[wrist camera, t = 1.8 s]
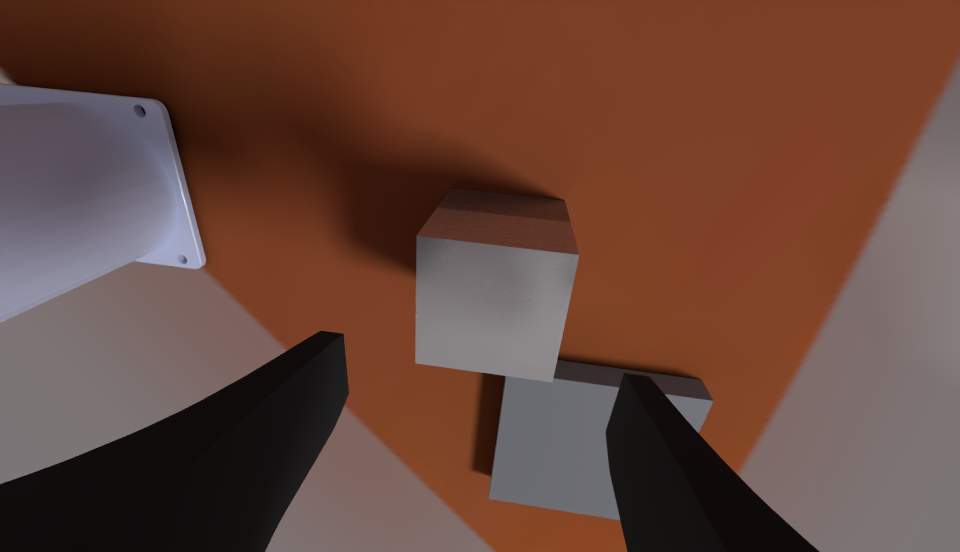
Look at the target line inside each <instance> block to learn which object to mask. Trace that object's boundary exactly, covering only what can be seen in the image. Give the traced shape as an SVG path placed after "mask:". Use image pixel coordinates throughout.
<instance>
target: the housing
mask: <svg viewBox="0 0 960 552" xmlns="http://www.w3.org/2000/svg"><path fill="white" fill-rule="evenodd" d="M578 259H579V252H578V248H577V245H576V241H575V237H574V233H573V229H572V226H571V222H570V218H569V214H568V210H567V207H566V203H565V200H556V199H547V198H538V197H529V196H520V195H511V194H502V193H492V192H483V191H474V190H465V189H456V188H451V189H450V190H449V192H448V193H447V194H446V196H445V197H444V199H443V200H442V201H441V203H440V204H439V205H438V207H437V208H436V210H435V211H434V212H433V214H432V215H431V216H430V218H429V219H428V221H427V222H426V223H425V225H424V226H423V227H422V229H421V230H420V232H419V233H418V234H417V236H416V363H418V364H425V365H432V366H439V367H446V368H453V369H460V370H468V371H475V372H482V373H489V374H496V375H503V376H510V377H517V378H524V379H531V380H539V381H546V382H553V377H554V373H555V368H556V363H557V358H558V354H559V349H560V344H561V339H562V335H563V330H564V325H565V320H566V316H567V311H568V306H569V301H570V297H571V292H572V287H573V282H574V278H575V273H576V268H577V263H578Z"/></svg>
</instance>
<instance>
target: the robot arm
mask: <svg viewBox="0 0 960 552" xmlns="http://www.w3.org/2000/svg"><path fill="white" fill-rule="evenodd" d="M142 107H143V108H144V110H145V112H146V115H145V114H144V113H143V111H142ZM184 256H185V257H186V259H187V260H186V259H185V258H184ZM132 261H137V262H146V263H152V264H160V265H168V266H176V267H183V268H191V269H198V268H200V267H202V266H204V265H205V263H206V258H205V254H204V250H203V246H202V242H201V238H200V235H199V231H198V227H197V223H196V219H195V215H194V211H193V207H192V203H191V200H190V196H189V192H188V188H187V184H186V180H185V176H184V172H183V168H182V164H181V161H180V157H179V153H178V149H177V145H176V141H175V137H174V133H173V129H172V126H171V122H170V118H169V114H168V111H167V109H166V107H165V106H164V105H163V103H161V102H160V101H159V100H155V99H148V98H138V97H128V96H118V95H109V94H99V93H89V92H79V91H69V90H59V89H49V88H39V87H29V86H19V85H9V84H0V323H1V322H3V321H5V320H7V319H9V318H11V317H13V316H15V315H18V314H20V313H22V312H24V311H26V310H28V309H31V308H33V307H35V306H37V305H39V304H41V303H43V302H46V301H48V300H50V299H52V298H54V297H57V296H58V295H61V294H63V293H65V292H67V291H70V290H72V289H74V288H76V287H78V286H80V285H82V284H85V283H87V282H89V281H91V280H93V279H95V278H97V277H100V276H102V275H104V274H106V273H108V272H110V271H112V270H114V269H117V268H119V267H121V266H123V265H126V264H128V263H130V262H132ZM348 395H349V388H348V377H347V367H346V356H345V345H344V334H341V333H334V332H326V331H320V332H318V333H316V334H314V335H313V336H311V337H309V338H307V339H306V340H304V341H302V342H301V343H299V344H298V345H296V346H294V347H293V348H291V349H289V350H288V351H286V352H285V353H283V354H281V355H280V356H278V357H276V358H275V359H273V360H271V361H270V362H268V363H266V364H265V365H263V366H262V367H260V368H258V369H256V370H255V371H253V372H251V373H250V374H248V375H246V376H245V377H243V378H241V379H239V380H238V381H236V382H234V383H232V384H230V385H228V386H227V387H225V388H223V389H221V390H219V391H218V392H216V393H214V394H212V395H211V396H208V397H207V398H205V399H203V400H201V401H199V402H197V403H196V404H194V405H192V406H190V407H188V408H186V409H184V410H182V411H180V412H178V413H176V414H174V415H171V416H169V417H167V418H165V419H163V420H161V421H159V422H156V423H154V424H152V425H150V426H148V427H146V428H144V429H141V430H139V431H137V432H135V433H132V434H130V435H127V436H125V437H123V438H120V439H118V440H115V441H113V442H110V443H108V444H106V445H103V446H101V447H98V448H96V449H93V450H91V451H89V452H86V453H84V454H81V455H79V456H76V457H74V458H72V459H69V460H66V461H64V462H61V463H59V464H56V465H53V466H50V467H48V468H45V469H42V470H39V471H37V472H34V473H31V474H28V475H25V476H23V477H20V478H17V479H14V480H12V481H8V482H5V483H3V484H0V552H265V550H266V548H267V546H268V544H269V542H270V540H271V537H272V536H273V534H274V532H275V530H276V528H277V526H278V524H279V522H280V520H281V519H282V517H283V515H284V513H285V511H286V510H287V508H288V506H289V505H290V503H291V501H292V499H293V498H294V496H295V494H296V492H297V491H298V489H299V488H300V486H301V484H302V483H303V481H304V479H305V477H306V476H307V474H308V472H309V470H310V469H311V467H312V466H313V464H314V462H315V461H316V459H317V457H318V455H319V453H320V452H321V450H322V448H323V447H324V445H325V443H326V441H327V439H328V438H329V436H330V435H331V433H332V431H333V429H334V427H335V425H336V423H337V420H338V418H339V416H340V414H341V411H342V409H343V407H344V404H345V402H346V399H347V397H348ZM606 443H607V454H608V462H609V471H610V476H611V481H612V485H613V490H614V494H615V499H616V503H617V508H618V512H619V516H620V521H621V525H622V530H623V534H624V538H625V543H626V547H627V551H628V552H819V551H818V550H817V549H816V548H814V547H813V546H812V545H811V544H810V543H809V542H808V541H807V540H805V539H804V538H803V537H802V536H801V535H800V534H799V533H798V532H797V531H795V530H794V529H793V528H792V527H791V526H790V525H789V524H788V523H786V522H785V520H783V519H782V518H781V517H780V516H779V515H778V514H777V513H776V512H775V511H773V510H772V509H771V508H770V507H769V506H768V505H767V504H766V503H765V502H764V501H763V500H762V499H761V498H760V497H759V496H758V495H757V494H756V493H754V492H753V491H752V489H751V488H750V487H749V486H748V485H747V484H746V483H745V482H744V481H743V480H742V479H741V478H740V477H739V476H738V475H737V474H736V473H735V472H734V471H733V470H732V469H731V468H730V467H729V466H728V465H727V464H726V463H725V462H724V461H723V460H722V459H721V457H720V456H719V455H718V454H717V453H716V452H715V451H714V450H713V449H712V448H711V447H710V446H709V445H708V443H707V442H706V441H705V440H704V439H703V438H702V437H701V436H700V434H699V433H698V432H697V431H696V430H695V429H694V428H693V427H692V425H691V424H690V423H689V422H688V421H687V420H686V419H685V417H684V416H683V415H682V414H681V413H680V412H679V410H678V409H677V408H676V407H675V406H674V405H673V403H672V402H671V401H670V400H669V399H668V398H667V396H666V395H665V394H664V393H663V392H662V390H661V389H660V388H659V387H658V386H657V385H656V384H655V382H654V381H653V380H652V379H651V378H650V377H649V376H643V375H636V374H629V373H624V374H623V377H622V381H621V384H620V387H619V390H618V393H617V397H616V400H615V403H614V406H613V409H612V412H611V416H610V419H609V422H608V425H607V428H606Z"/></svg>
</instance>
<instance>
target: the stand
mask: <svg viewBox="0 0 960 552" xmlns="http://www.w3.org/2000/svg"><path fill="white" fill-rule="evenodd" d="M624 373H629V374H636V375H643V376H649V377H650V378H651V379H652V380H653V381H654V382H655V384H656V385H657V386H658V387H659V388H660V389H661V390H662V392H663V393H664V394H665V395H666V396H667V398H668V399H669V400H670V401H671V402H672V403H673V405H674V406H675V407H676V408H677V409H678V410H679V412H680V413H681V414H682V415H683V416H684V417H685V419H686V420H687V421H688V422H689V423H690V424H691V425H692V427H693V428H694V429H695V430H696V431H697V432H698V433H699V431H700V429H701V427H702V425H703V422H704V420H705V418H706V416H707V414H708V412H709V409H710V407H711V405H712V403H713V399H712V397H711V396H710V394H709V392H708V390H707V388H706V387H705V385H704V383H703V381H702V380H699V379H692V378H685V377H677V376H670V375H663V374H656V373H648V372H641V371H634V370H627V369H619V368H612V367H605V366H598V365H590V364H583V363H576V362H569V361H561V360H557V363H556V368H555V373H554V377H553V382H546V381H539V380H531V379H524V378H517V377H510V376H505V381H504V388H503V395H502V402H501V410H500V417H499V424H498V431H497V438H496V445H495V452H494V459H493V467H492V474H491V482H490V492H489V499H493V500H499V501H505V502H512V503H518V504H524V505H530V506H536V507H542V508H548V509H554V510H561V511H567V512H573V513H579V514H585V515H591V516H597V517H603V518H609V519H616V520H620V516H619V512H618V508H617V503H616V499H615V494H614V490H613V485H612V481H611V476H610V471H609V462H608V454H607V443H606V428H607V425H608V422H609V419H610V416H611V412H612V409H613V406H614V403H615V400H616V397H617V393H618V390H619V387H620V384H621V381H622V377H623V374H624Z"/></svg>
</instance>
